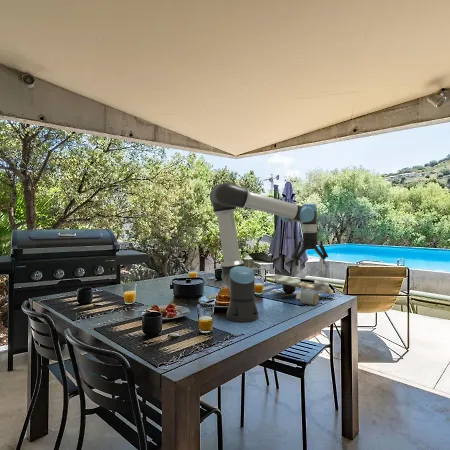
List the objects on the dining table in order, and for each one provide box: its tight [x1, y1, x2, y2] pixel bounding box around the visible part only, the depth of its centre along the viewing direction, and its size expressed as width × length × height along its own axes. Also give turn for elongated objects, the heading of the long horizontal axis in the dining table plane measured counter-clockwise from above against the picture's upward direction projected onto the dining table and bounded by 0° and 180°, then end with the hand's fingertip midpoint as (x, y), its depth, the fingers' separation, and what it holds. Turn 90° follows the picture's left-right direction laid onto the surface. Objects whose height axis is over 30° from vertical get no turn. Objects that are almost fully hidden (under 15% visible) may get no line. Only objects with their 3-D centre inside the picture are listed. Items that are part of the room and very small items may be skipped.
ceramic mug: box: [300, 289, 320, 306], centre depth 180 cm, size 11×8×8 cm
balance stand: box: [295, 286, 305, 301], centre depth 194 cm, size 8×12×7 cm, turn 164°
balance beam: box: [274, 274, 334, 295], centre depth 194 cm, size 33×15×5 cm, turn 75°
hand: (310, 271), depth 180 cm, fingers open, 13 cm apart
